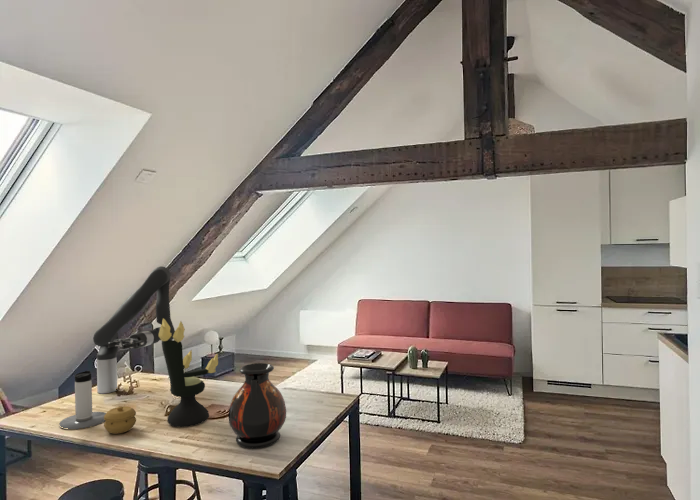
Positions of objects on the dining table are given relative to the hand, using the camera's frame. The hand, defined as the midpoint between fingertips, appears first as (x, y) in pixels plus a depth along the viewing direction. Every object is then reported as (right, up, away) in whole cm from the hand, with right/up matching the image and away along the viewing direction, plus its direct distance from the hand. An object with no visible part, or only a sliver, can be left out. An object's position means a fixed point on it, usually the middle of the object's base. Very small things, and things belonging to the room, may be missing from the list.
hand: (115, 346), depth 214 cm
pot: (+16, -29, -28) cm, 43 cm away
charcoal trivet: (-5, -29, -17) cm, 34 cm away
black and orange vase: (+74, -28, -40) cm, 89 cm away
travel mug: (-5, -28, -16) cm, 33 cm away
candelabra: (+40, -28, -20) cm, 53 cm away
